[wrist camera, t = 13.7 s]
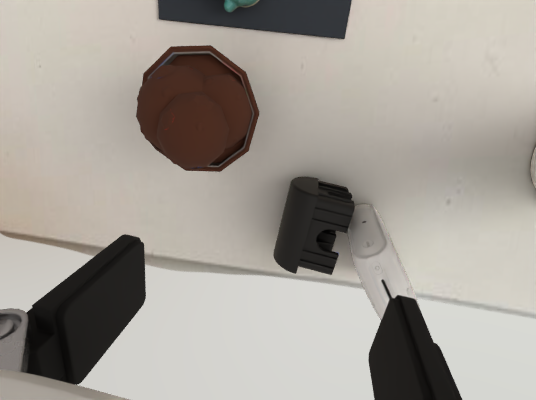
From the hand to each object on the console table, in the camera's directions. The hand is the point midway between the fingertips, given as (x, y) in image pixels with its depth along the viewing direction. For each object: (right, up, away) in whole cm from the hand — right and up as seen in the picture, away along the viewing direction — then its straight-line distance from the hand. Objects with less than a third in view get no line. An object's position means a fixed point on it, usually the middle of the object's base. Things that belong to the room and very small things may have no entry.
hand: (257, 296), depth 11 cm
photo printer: (+14, -1, +28) cm, 31 cm away
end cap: (+6, +2, +28) cm, 28 cm away
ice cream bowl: (-4, +15, +24) cm, 29 cm away
